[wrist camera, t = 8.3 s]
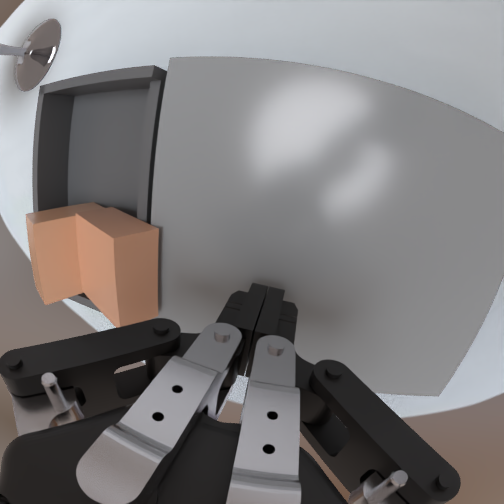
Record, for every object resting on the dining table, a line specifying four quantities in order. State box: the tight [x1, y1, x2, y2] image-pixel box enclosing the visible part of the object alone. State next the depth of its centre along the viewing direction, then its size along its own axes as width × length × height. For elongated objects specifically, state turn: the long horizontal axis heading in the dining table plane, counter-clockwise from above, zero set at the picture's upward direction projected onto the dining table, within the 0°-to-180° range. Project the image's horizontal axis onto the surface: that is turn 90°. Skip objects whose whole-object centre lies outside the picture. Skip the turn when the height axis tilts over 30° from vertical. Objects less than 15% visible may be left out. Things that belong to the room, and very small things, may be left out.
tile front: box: [76, 207, 159, 328], centre depth 14 cm, size 5×5×2 cm
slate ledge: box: [151, 57, 504, 396], centre depth 14 cm, size 16×19×3 cm
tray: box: [33, 65, 167, 312], centre depth 15 cm, size 14×9×4 cm, turn 171°
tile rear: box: [26, 202, 104, 305], centre depth 15 cm, size 5×5×2 cm
